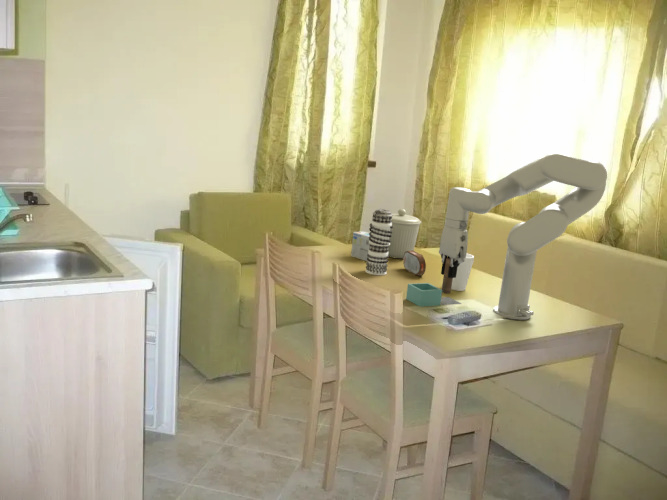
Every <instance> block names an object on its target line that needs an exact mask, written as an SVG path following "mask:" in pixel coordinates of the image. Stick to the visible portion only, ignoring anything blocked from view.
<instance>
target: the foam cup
mask: <svg viewBox="0 0 667 500" xmlns="http://www.w3.org/2000/svg"><path fill="white" fill-rule="evenodd" d="M474 260H475V255H473V254H470V253H467V254H466V258H464V262H463V263H461V264H460V265H459V267H457V274H456V278H453V280H452V287H451V291H452V290H453V291H459V292H462V291H463V292H464V291H466V289H467V285H468V281H469V278H470V275H471V270H472V267H473V264H474Z"/></svg>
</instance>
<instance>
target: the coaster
mask: <svg viewBox="0 0 667 500" xmlns="http://www.w3.org/2000/svg"><path fill="white" fill-rule="evenodd" d="M462 304H463V303H461V302H459V301H458V300H455V299H454V298H452V297H449V296H441V303H440V305H442V306H447V305H462Z"/></svg>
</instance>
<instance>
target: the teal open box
mask: <svg viewBox="0 0 667 500" xmlns="http://www.w3.org/2000/svg"><path fill="white" fill-rule="evenodd" d="M442 294H443V293H442V288H439V287H437V286H435V285H433V284H431V283H429V282H422V283H421V282H419V283H407V288H406V296H405V299H406V300H407V301H409V302H411V303H412V304H414V305H416V306H417V307H434V306H435V307H436V306H441V304H440V303H441V297H442Z"/></svg>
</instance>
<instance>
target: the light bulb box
mask: <svg viewBox="0 0 667 500" xmlns="http://www.w3.org/2000/svg"><path fill="white" fill-rule="evenodd" d="M369 233H370V232H367V231H353V233H352V234H353V235H352V244H351V254H350V257H353V258H355V257H356V259H358V258H359V260H361V261H366V262H368V260H367V258H368V256H367V254H368V250H369V245H370V243H369V241H370V240H369V237H370V236H369Z"/></svg>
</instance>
